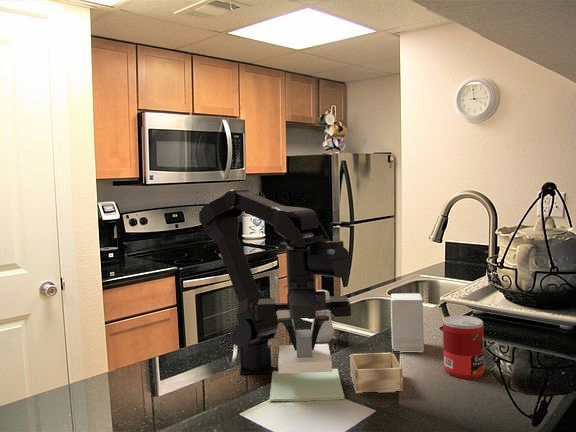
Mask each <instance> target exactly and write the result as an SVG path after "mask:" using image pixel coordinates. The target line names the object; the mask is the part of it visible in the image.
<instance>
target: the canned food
mask: <svg viewBox="0 0 576 432" xmlns="http://www.w3.org/2000/svg"><path fill="white" fill-rule="evenodd" d="M484 332H485V330H484V321H483V320H482V319H480V318H478V317H475V316H471V315H457V314H456V315H448V316H445V317H444V318H443V320H442V336H443V337H442V344H443V367H444V370H445V373H447V374H448V373H449V374H450V375H449V374H448V375H449V376H451V375H452V377H454V376H455V377H454V378H458V377H459V378H458V379H466V380H471V379H473V380H474V379H478V378H481V377H482V376H483V375H484V372H485V347H484V346H485V343H484V342H485V341H484V340H485V339H484V335H485V333H484Z"/></svg>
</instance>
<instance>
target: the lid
mask: <svg viewBox="0 0 576 432" xmlns="http://www.w3.org/2000/svg"><path fill="white" fill-rule="evenodd" d="M311 329H312V328H311ZM311 329H310V328H309V329H295V334H296V346H297V351H295V349H294V347H293V344H288V345H286V344H285V345H281V344H280V345H279V350H278V359H277V360H278V362H277V366H278V370H277V371H278V373H308V372H332V369H333V364H332V363H333V362H332V357H331V351H330V347H329V343H315V347H314V350H312V337H311V336H312V334H311Z"/></svg>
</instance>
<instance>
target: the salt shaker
mask: <svg viewBox="0 0 576 432" xmlns="http://www.w3.org/2000/svg"><path fill="white" fill-rule="evenodd" d="M316 291H325V295H326V302H328V301H329V297H331V295H330V292H329V291H328V290H326V289H316ZM328 315H329V321H324V323H323V324H322V326H321V328H320V330H319V333H318V336H317V340H316V343H317V344H328V343H329V342H331V341H332V339H333V336H334V325H333V321H332V316H331V311H329V313H328ZM311 322H312V323H311V325H312V324H313V320H312V321H311ZM311 335H312V328H311Z"/></svg>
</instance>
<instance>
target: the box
mask: <svg viewBox="0 0 576 432" xmlns="http://www.w3.org/2000/svg"><path fill="white" fill-rule="evenodd" d="M394 353H395V352H373V353H372V352H370V353H367V352H366V353H349V362H350V363H349V365H350V366H349V367H350V377H352V378H351V380H352V384H354V385H353V388H354V390H355V391H354V392H355V394H364V393H363V392H378V393H397V392H396V391H403V392H404V382H403V381H404V380H403V377H404V376H403V375H404V374H403V367H402V366H401V363H400V362H399V360H398V359H397V357H396V355H395V354H394Z"/></svg>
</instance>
